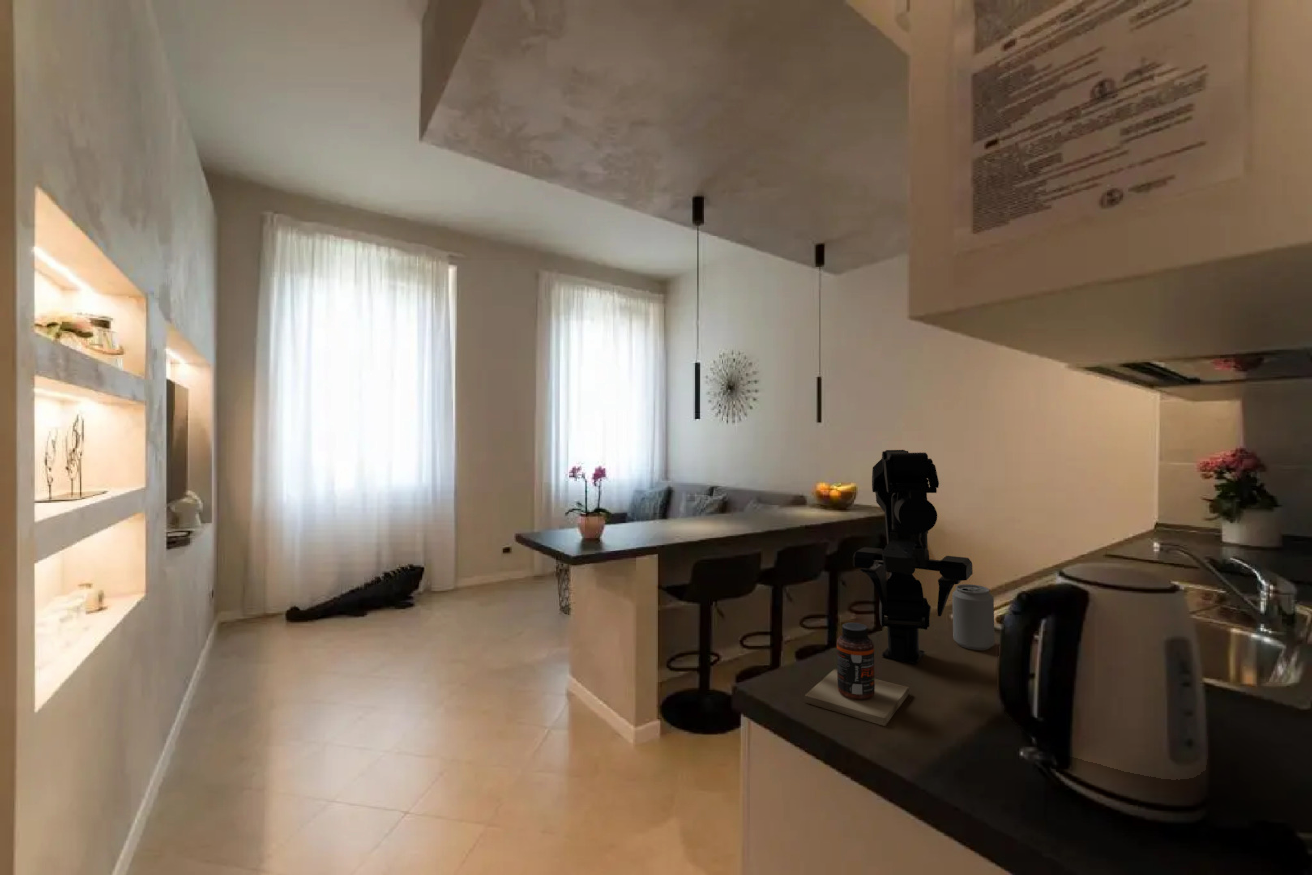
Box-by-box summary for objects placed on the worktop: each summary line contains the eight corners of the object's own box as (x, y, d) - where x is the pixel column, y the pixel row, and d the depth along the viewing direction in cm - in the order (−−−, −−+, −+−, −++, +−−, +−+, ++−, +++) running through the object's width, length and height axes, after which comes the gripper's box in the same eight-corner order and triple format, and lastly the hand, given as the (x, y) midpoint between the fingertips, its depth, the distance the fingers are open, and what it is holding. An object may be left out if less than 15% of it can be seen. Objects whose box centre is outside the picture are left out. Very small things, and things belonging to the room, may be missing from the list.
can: (947, 637, 122) (946, 582, 122) (985, 638, 121) (983, 582, 121) (961, 651, 114) (960, 592, 114) (1001, 652, 113) (1000, 592, 113)
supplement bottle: (867, 705, 91) (865, 634, 91) (831, 694, 95) (829, 627, 95) (880, 691, 95) (878, 624, 95) (845, 682, 99) (844, 617, 99)
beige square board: (834, 675, 105) (834, 668, 105) (908, 694, 97) (908, 687, 97) (804, 702, 95) (804, 695, 95) (884, 726, 87) (884, 718, 87)
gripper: (840, 525, 100) (842, 613, 100) (957, 535, 88) (960, 635, 88) (862, 517, 109) (864, 598, 109) (972, 524, 97) (974, 615, 97)
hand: (911, 611), depth 100 cm, fingers open, 9 cm apart
